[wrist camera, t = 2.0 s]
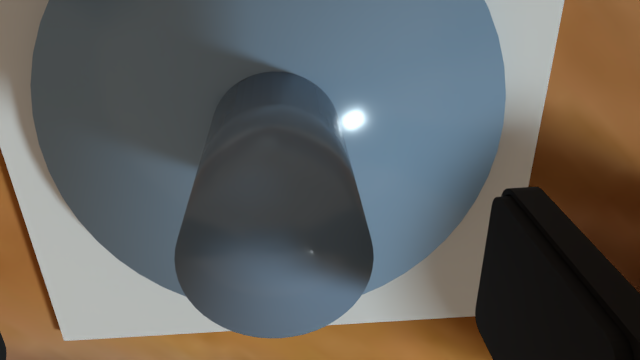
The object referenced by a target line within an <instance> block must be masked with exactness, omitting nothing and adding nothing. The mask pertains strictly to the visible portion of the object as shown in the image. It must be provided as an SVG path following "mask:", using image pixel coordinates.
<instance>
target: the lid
mask: <svg viewBox="0 0 640 360" xmlns="http://www.w3.org/2000/svg"><path fill="white" fill-rule="evenodd" d="M30 86H31V100H32V114H33V120H34V124H35V129H36V133H37V138H38V142H39V146H40V149H41V152H42V154H43V157H44V160H45V162H46V165H47V168H48V171H49V173H50V175H51V177H52V179H53V181H54V182H55V184H56V186H57V188H58V190H59V192H60V194H61V196H62V198H63V199H64V200H65V202H66V203H67V205H68V206H69V208H70V209H71V210H72V212H73V213H74V215H75V216H76V218H77V219H78V220H79V222H80V223H81V224H82V225H83V226H84V227H85V228H86V229H87V230H88V232H89V233H90V234H91V235H92V236H93V237H94V238H95V239H96V240H97V241H98V242H99V243H100V244H101V245H102V246H103V247H104V248H106V249H107V250H108V251H109V252H110V253H111V254H112V255H113V256H115V257H116V258H117V259H118V260H120V261H121V262H122V263H124V264H125V265H127V266H128V267H130V268H131V269H132V270H134V271H135V272H137V273H138V274H140V275H142V276H143V277H145V278H147V279H149V280H151V281H152V282H154V283H156V284H158V285H160V286H162V287H164V288H166V289H169V290H171V291H173V292H176V293H178V294H181V295H183V296H185V297H187V298H188V300H189V301H190V302H191V303H192V305H193V306H194V307H195V308H196V309H197V310H198V311H199V312H200V313H202V314H203V315H204V316H205V317H207V318H208V319H210V320H211V321H212V322H214V323H216V324H218V325H220V326H221V327H223V328H226V329H228V330H231V331H233V332H236V333H240V334H243V335H248V336H253V337H261V338H285V337H293V336H298V335H303V334H306V333H309V332H312V331H316V330H318V329H320V328H322V327H325V326H327V325H328V324H330V323H332V322H334V321H335V320H337V319H338V318H340V317H341V316H342V315H344V314H345V313H346V312H347V311H348V310H349V309H350V308H351V307H353V305H354V304H355V303H356V302H357V301H358V299H359V298H360V297H361V295H363V294H365V293H368V292H370V291H372V290H374V289H377V288H379V287H381V286H383V285H385V284H387V283H389V282H390V281H392V280H394V279H396V278H397V277H399V276H401V275H403V274H404V273H406V272H407V271H409V270H410V269H411V268H413V267H414V266H416V265H417V264H418V263H420V262H421V261H422V260H424V259H425V258H426V257H427V256H429V255H430V254H431V253H432V252H433V251H434V250H435V249H436V248H437V247H438V246H439V245H441V244H442V243H443V242H444V241H445V240H446V239H447V237H448V236H449V235H450V234H451V233H452V232H453V231H454V229H455V228H456V227H457V226H458V225H459V224H460V223H461V221H462V220H463V218H464V217H465V216H466V214H467V213H468V211H469V210H470V208H471V207H472V205H473V204H474V202H475V201H476V199H477V197H478V195H479V193H480V191H481V189H482V188H483V186H484V184H485V182H486V180H487V178H488V176H489V173H490V170H491V167H492V165H493V162H494V159H495V156H496V154H497V151H498V146H499V142H500V137H501V133H502V129H503V124H504V112H505V101H506V88H505V69H504V62H503V57H502V52H501V47H500V42H499V37H498V34H497V31H496V28H495V25H494V22H493V20H492V17H491V14H490V11H489V8H488V6H487V4H486V2H485V0H49V1H48V4H47V6H46V9H45V11H44V14H43V16H42V19H41V21H40V25H39V29H38V33H37V38H36V42H35V46H34V51H33V57H32V71H31V84H30Z"/></svg>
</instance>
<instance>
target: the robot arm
mask: <svg viewBox="0 0 640 360" xmlns="http://www.w3.org/2000/svg"><path fill="white" fill-rule="evenodd" d="M475 318H476V323H477V327H478V329H479V332H480V334H481V336H482V338H483V340H484V342H485V344H486V346H487V348H488V350H489V352H490V354H491V356H492V358H493V360H640V294H639V293H638V292H637V291H636V289H635V288H634V287H633V286H632V285H631V284H630V283H629V282H628V281H627V280H626V279H625V278H624V277H623V276H622V275H621V273H620V272H619V271H618V270H617V269H616V268H615V267H614V266H613V265H612V264H611V263H610V262H609V261H608V260H607V259H606V257H605V256H604V255H603V254H602V253H601V252H600V251H599V250H598V249H597V248H596V247H595V246H594V245H593V244H592V243H591V242H590V240H589V239H588V238H587V237H586V236H585V235H584V234H583V233H582V232H581V231H580V230H579V229H578V228H577V227H576V226H575V224H574V223H573V222H572V221H571V220H570V219H569V218H568V217H567V216H566V215H565V214H564V213H563V212H562V211H561V210H560V208H559V207H558V206H557V205H556V204H555V203H554V202H553V201H552V200H551V199H550V198H549V197H548V196H547V195H546V194H545V193H544V191H543V190H542V189H540V188H539V187H522V188H507V189H505V190H504V191H503V193H502V195H501V197H495V198H494V200H493V202H492V207H491V213H490V219H489V226H488V232H487V238H486V245H485V251H484V257H483V264H482V270H481V276H480V283H479V289H478V295H477V302H476V308H475ZM0 360H6V347H5V343H4V341H3V338H2V336H1V333H0Z"/></svg>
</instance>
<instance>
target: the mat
mask: <svg viewBox="0 0 640 360" xmlns="http://www.w3.org/2000/svg"><path fill="white" fill-rule="evenodd" d="M48 1H49V0H0V148H1V151H2V154H3V157H4V160H5V163H6V166H7V169H8V172H9V175H10V178H11V181H12V184H13V187H14V190H15V193H16V196H17V199H18V202H19V205H20V208H21V211H22V214H23V217H24V221H25V224H26V227H27V230H28V233H29V236H30V239H31V242H32V245H33V248H34V251H35V254H36V257H37V260H38V263H39V266H40V269H41V272H42V275H43V278H44V281H45V284H46V287H47V290H48V293H49V296H50V299H51V302H52V305H53V308H54V311H55V314H56V318H57V321H58V324H59V327H60V330H61V333H62V336H63V339H64V341H70V340H86V339H103V338H120V337H137V336H153V335H170V334H187V333H204V332H220V331H231V330H228V329H226V328H223V327H221V326H220V325H218V324H216V323H214V322H212V321H211V320H210V319H208V318H207V317H205V316H204V315H203V314H202V313H200V312H199V311H198V310H197V309H196V308H195V307H194V306H193V305H192V303H191V302H190V301H189V300H188V298H187V297H185V296H183V295H181V294H178V293H176V292H173V291H171V290H169V289H166V288H164V287H162V286H160V285H158V284H156V283H154V282H152V281H151V280H149V279H147V278H145V277H143V276H142V275H140V274H138V273H137V272H135V271H134V270H132V269H131V268H130V267H128V266H127V265H125V264H124V263H122V262H121V261H120V260H118V259H117V258H116V257H115V256H113V255H112V254H111V253H110V252H109V251H108V250H107V249H106V248H104V247H103V246H102V245H101V244H100V243H99V242H98V241H97V240H96V239H95V238H94V237H93V236H92V235H91V234H90V233H89V232H88V230H87V229H86V228H85V227H84V226H83V225H82V224H81V223H80V222H79V220H78V219H77V218H76V216H75V215H74V213H73V212H72V210H71V209H70V208H69V206H68V205H67V203H66V202H65V200H64V199H63V198H62V196H61V194H60V192H59V190H58V188H57V186H56V184H55V182H54V181H53V179H52V177H51V175H50V173H49V171H48V168H47V165H46V162H45V160H44V157H43V154H42V152H41V149H40V146H39V142H38V138H37V133H36V129H35V124H34V120H33V114H32V100H31V86H30V84H31V71H32V57H33V51H34V46H35V42H36V38H37V33H38V29H39V25H40V21H41V19H42V16H43V14H44V11H45V9H46V6H47V4H48ZM485 2H486V4H487V6H488V8H489V11H490V14H491V17H492V20H493V22H494V25H495V28H496V31H497V34H498V37H499V42H500V47H501V52H502V57H503V62H504V69H505V88H506V101H505V112H504V124H503V129H502V133H501V137H500V142H499V146H498V151H497V154H496V156H495V159H494V162H493V165H492V167H491V170H490V173H489V176H488V178H487V180H486V182H485V184H484V186H483V188H482V189H481V191H480V193H479V195H478V197H477V199H476V201H475V202H474V204H473V205H472V207H471V208H470V210H469V211H468V213H467V214H466V216H465V217H464V218H463V220H462V221H461V223H460V224H459V225H458V226H457V227H456V228H455V229H454V231H453V232H452V233H451V234H450V235H449V236H448V237H447V239H446V240H445V241H444V242H443V243H442V244H441V245H439V246H438V247H437V248H436V249H435V250H434V251H433V252H432V253H431V254H430V255H429V256H427V257H426V258H425V259H424V260H422V261H421V262H420V263H418V264H417V265H416V266H414V267H413V268H411V269H410V270H409V271H407V272H406V273H404V274H403V275H401V276H399V277H397V278H396V279H394V280H392V281H390V282H389V283H387V284H385V285H383V286H381V287H379V288H377V289H374V290H372V291H370V292H368V293H365V294H363V295H361V297H360V298H359V299H358V301H357V302H356V303H355V304H354V305H353V307H351V308H350V309H349V310H348V311H347V312H346V313H345V314H344V315H342V316H341V317H340V318H338V319H337V320H335V321H334V322H332V323H330V324H328V325H337V324H354V323H371V322H388V321H404V320H421V319H438V318H454V317H471V316H475V308H476V302H477V295H478V289H479V283H480V276H481V270H482V264H483V257H484V251H485V245H486V238H487V232H488V226H489V219H490V213H491V207H492V202H493V200H494V198H495V197H501V195H502V193H503V191H504V190H505V189H507V188H522V187H528V185H529V180H530V175H531V170H532V165H533V160H534V154H535V149H536V144H537V139H538V134H539V129H540V123H541V118H542V113H543V108H544V103H545V98H546V92H547V87H548V82H549V77H550V72H551V67H552V61H553V56H554V51H555V46H556V41H557V36H558V31H559V25H560V20H561V15H562V10H563V5H564V0H485Z"/></svg>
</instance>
